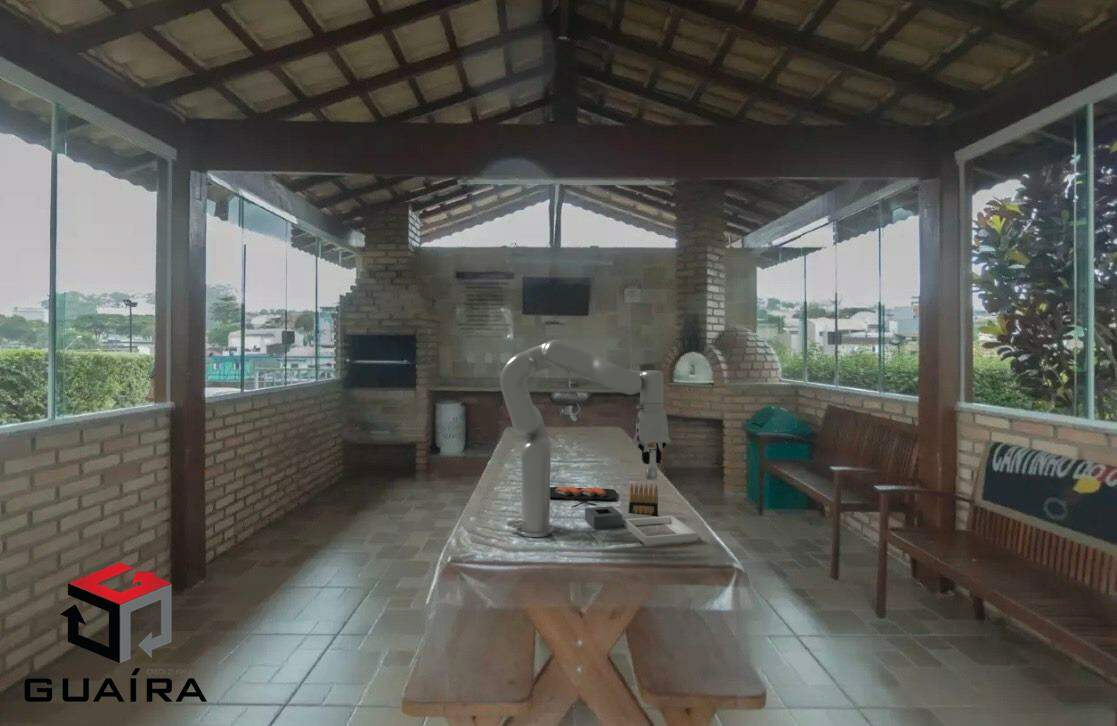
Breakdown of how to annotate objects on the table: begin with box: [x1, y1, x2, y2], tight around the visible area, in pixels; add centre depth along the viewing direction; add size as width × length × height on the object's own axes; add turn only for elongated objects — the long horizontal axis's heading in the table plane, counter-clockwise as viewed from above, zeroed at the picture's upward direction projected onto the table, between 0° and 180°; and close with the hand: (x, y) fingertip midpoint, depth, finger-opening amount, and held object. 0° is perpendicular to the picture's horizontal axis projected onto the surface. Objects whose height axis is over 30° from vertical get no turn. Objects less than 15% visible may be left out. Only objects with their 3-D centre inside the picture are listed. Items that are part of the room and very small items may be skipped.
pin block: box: [584, 505, 623, 530], centre depth 201 cm, size 10×10×5 cm
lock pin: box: [645, 447, 658, 481], centre depth 193 cm, size 4×4×10 cm
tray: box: [623, 515, 698, 548], centre depth 192 cm, size 18×18×3 cm
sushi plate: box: [550, 486, 617, 508], centre depth 230 cm, size 29×30×4 cm
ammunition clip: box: [628, 482, 659, 517], centre depth 212 cm, size 11×2×12 cm, turn 83°
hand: (651, 462), depth 193 cm, fingers closed on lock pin, 3 cm apart
